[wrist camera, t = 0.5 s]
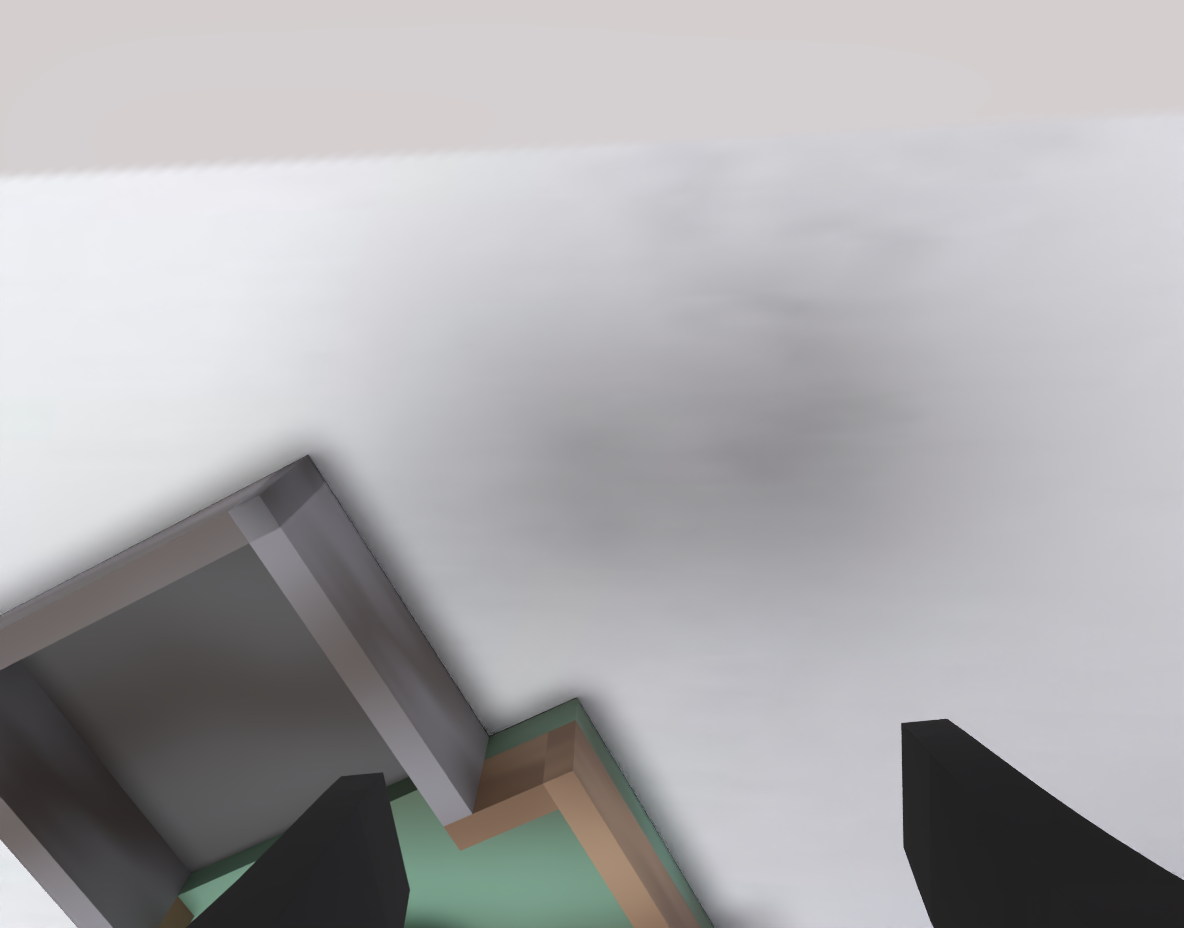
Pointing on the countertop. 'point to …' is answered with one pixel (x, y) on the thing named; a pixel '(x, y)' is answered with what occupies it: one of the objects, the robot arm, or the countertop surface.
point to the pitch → (292, 737)
